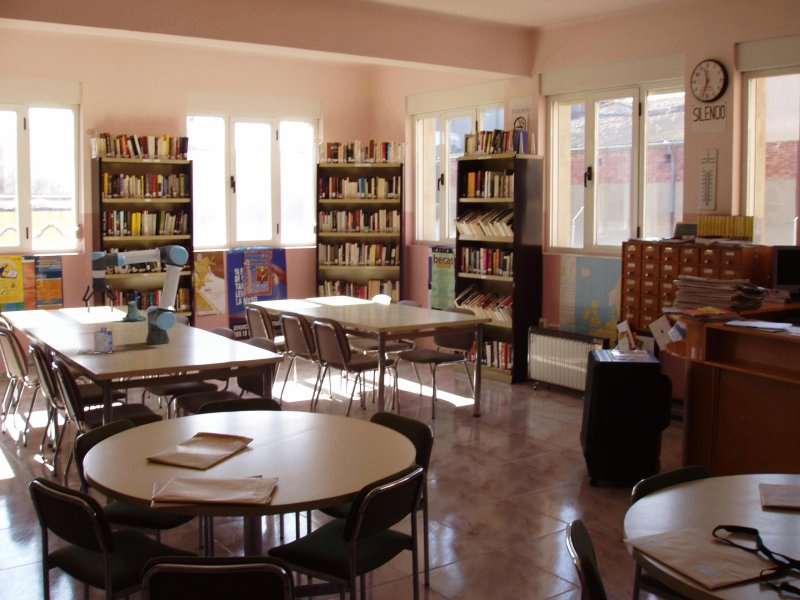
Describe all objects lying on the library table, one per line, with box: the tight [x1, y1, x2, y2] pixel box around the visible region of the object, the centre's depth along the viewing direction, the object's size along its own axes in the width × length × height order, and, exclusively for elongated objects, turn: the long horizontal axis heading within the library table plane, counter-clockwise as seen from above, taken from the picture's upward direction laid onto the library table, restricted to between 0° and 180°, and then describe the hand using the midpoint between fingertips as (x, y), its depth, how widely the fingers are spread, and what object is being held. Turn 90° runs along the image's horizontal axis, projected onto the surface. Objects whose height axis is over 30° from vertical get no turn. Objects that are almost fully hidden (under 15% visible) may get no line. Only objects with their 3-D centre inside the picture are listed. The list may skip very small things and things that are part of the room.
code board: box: [77, 349, 108, 355], centre depth 523 cm, size 20×14×1 cm
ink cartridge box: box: [93, 327, 114, 352], centre depth 524 cm, size 10×6×14 cm, turn 79°
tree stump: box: [122, 300, 148, 323], centre depth 664 cm, size 18×20×18 cm
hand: (100, 311), depth 522 cm, fingers open, 13 cm apart
